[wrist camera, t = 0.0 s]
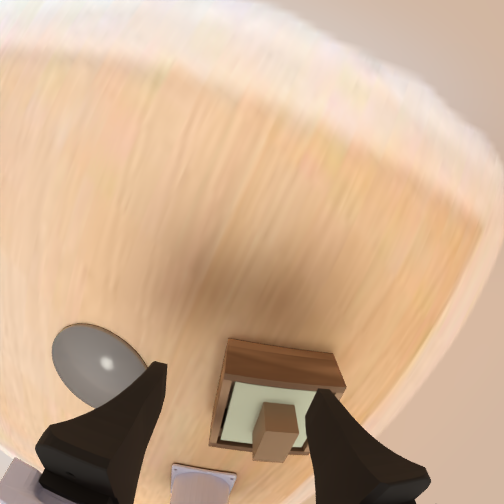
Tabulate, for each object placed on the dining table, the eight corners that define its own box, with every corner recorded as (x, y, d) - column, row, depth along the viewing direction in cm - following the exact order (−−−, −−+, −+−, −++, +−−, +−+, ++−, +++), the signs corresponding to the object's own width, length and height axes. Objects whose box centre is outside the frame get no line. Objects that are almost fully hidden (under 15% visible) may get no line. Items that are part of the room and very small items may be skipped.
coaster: (152, 422, 27) (151, 426, 26) (62, 392, 26) (60, 395, 25) (154, 342, 24) (152, 346, 23) (48, 310, 23) (45, 312, 22)
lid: (300, 442, 23) (305, 472, 19) (220, 434, 22) (218, 466, 19) (328, 387, 21) (339, 420, 17) (235, 376, 20) (234, 411, 17)
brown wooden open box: (301, 421, 27) (308, 455, 22) (212, 411, 26) (208, 445, 22) (333, 353, 24) (346, 387, 20) (228, 338, 24) (224, 373, 19)
